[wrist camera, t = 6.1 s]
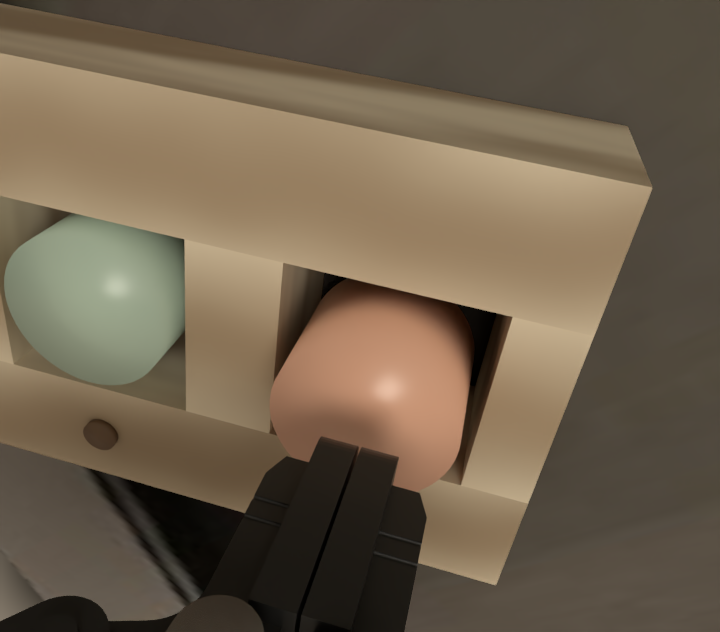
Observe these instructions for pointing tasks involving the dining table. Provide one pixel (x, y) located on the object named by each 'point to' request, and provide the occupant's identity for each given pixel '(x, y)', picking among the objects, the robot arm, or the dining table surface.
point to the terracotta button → (379, 379)
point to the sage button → (98, 297)
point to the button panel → (305, 251)
